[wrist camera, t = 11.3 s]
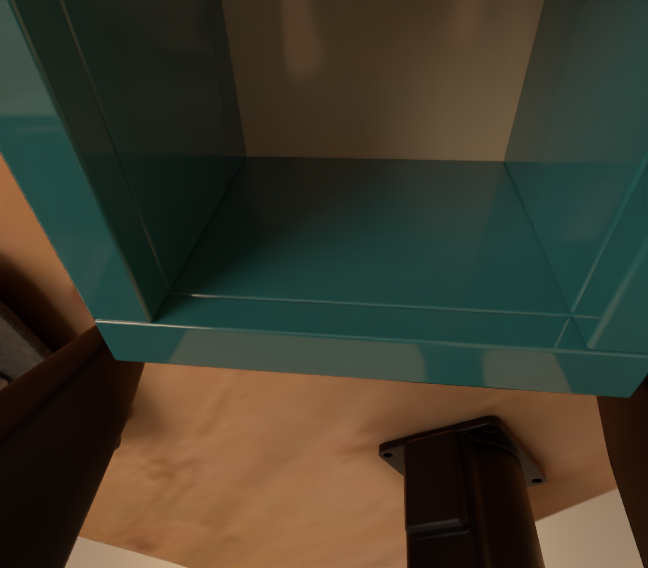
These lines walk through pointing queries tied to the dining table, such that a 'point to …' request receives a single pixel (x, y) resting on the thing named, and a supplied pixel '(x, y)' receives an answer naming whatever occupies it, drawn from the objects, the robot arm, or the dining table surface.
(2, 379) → the sushi plate
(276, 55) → the teal rimmed box
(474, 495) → the robot arm
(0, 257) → the dining table surface
